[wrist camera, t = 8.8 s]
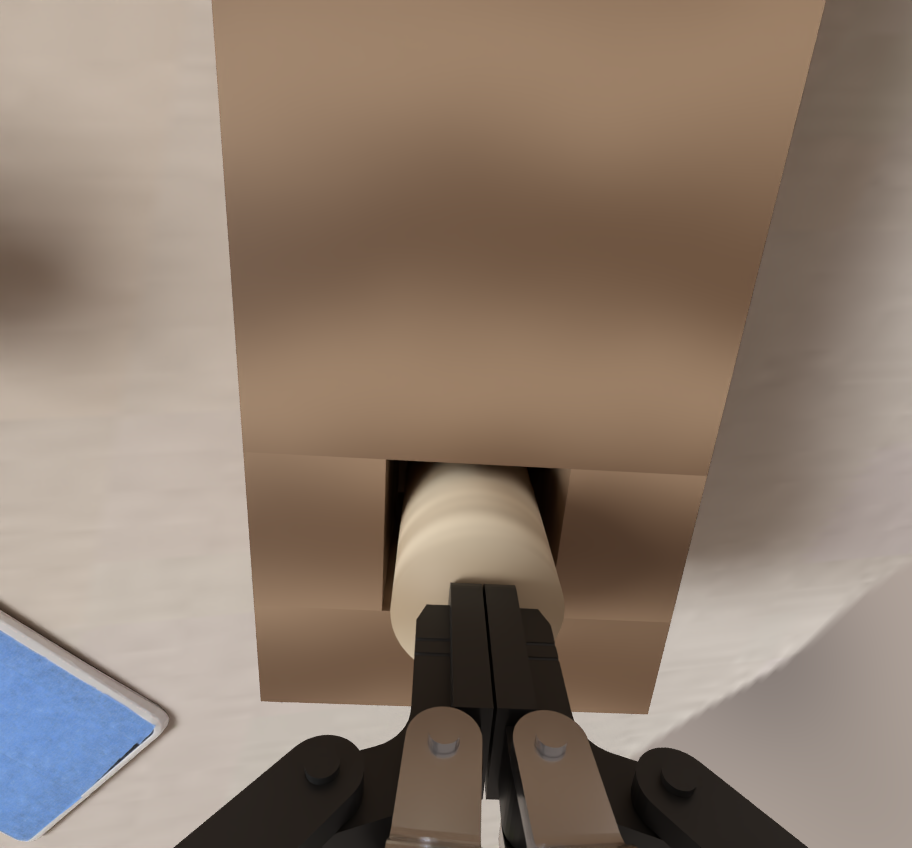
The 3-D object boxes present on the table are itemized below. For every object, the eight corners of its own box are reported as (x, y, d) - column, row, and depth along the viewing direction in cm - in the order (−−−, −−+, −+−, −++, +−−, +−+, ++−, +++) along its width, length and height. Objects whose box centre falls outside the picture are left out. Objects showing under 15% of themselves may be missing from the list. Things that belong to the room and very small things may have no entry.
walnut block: (288, -385, 16) (149, -889, 8) (752, -333, 16) (1015, -760, 9) (312, 550, 26) (261, 701, 19) (590, 563, 27) (647, 714, 19)
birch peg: (408, 417, 20) (392, 534, 13) (533, 424, 20) (575, 543, 13) (404, 525, 21) (387, 676, 15) (520, 531, 21) (552, 682, 15)
